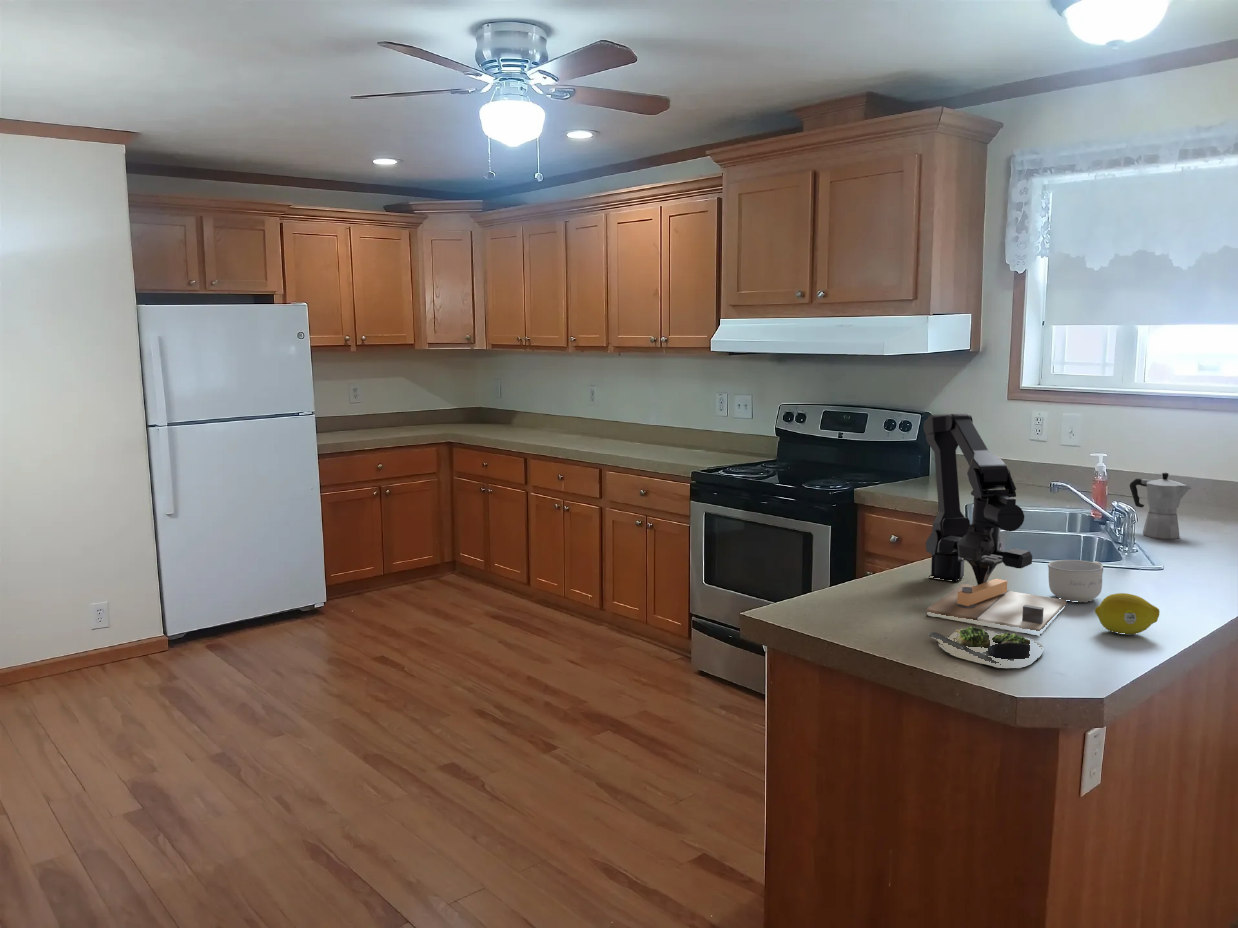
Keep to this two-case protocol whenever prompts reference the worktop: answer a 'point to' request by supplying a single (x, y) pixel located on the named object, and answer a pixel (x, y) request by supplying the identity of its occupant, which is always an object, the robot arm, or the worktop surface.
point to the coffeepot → (1161, 506)
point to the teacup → (1075, 579)
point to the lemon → (1126, 613)
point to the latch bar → (981, 592)
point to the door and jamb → (1002, 609)
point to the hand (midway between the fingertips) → (980, 589)
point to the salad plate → (976, 637)
